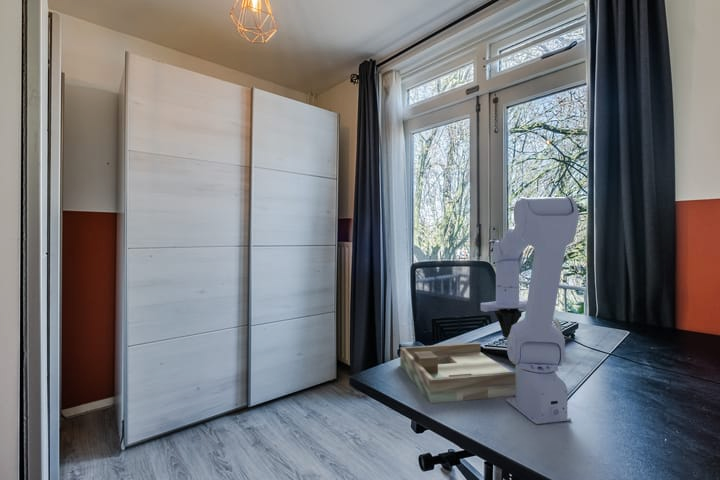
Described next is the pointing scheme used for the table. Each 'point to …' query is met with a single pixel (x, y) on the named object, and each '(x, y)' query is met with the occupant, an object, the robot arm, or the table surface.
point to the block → (427, 361)
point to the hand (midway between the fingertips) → (507, 337)
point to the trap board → (458, 373)
